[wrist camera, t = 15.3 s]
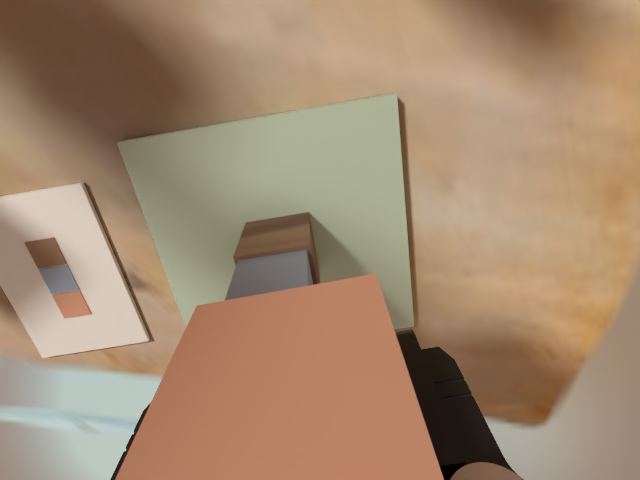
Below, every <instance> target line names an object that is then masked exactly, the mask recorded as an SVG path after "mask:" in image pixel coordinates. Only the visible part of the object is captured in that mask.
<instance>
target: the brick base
mask: <svg viewBox="0 0 640 480" xmlns="http://www.w3.org/2000/svg"><path fill="white" fill-rule="evenodd" d="M302 250H307V253H308V259H309V264H310V270H311V275H312V280H313V285H315V284H320V273H319V265H318V259H317V254H316V248H315V243H314V238H313V232H312V227H311V221H310V216H309V212H306V213H300V214H294V215H288V216H282V217H276V218H270V219H264V220H258V221H252V222H246V223H245V226H244V229H243V231H242V234H241V237H240V240H239V242H238V245H237V248H236V251H235V253H234V256H233V259H234V262H235V266H236V264H237V261H238V260H244V259H250V258H257V257H263V256H270V255H276V254H283V253H289V252H296V251H302Z"/></svg>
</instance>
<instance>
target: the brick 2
mask: <svg viewBox="0 0 640 480" xmlns="http://www.w3.org/2000/svg"><path fill="white" fill-rule="evenodd" d="M115 480H444V478H443V475H442V472H441V469H440V466H439V463H438V460H437V457H436V454H435V451H434V448H433V445H432V442H431V439H430V436H429V433H428V430H427V427H426V424H425V421H424V418H423V415H422V412H421V409H420V406H419V403H418V400H417V397H416V394H415V391H414V388H413V385H412V382H411V379H410V376H409V373H408V370H407V367H406V363H405V360H404V357H403V354H402V351H401V348H400V345H399V342H398V339H397V336H396V333H395V330H394V327H393V324H392V321H391V318H390V315H389V312H388V309H387V306H386V303H385V300H384V297H383V294H382V291H381V288H380V285H379V282H378V279H377V276H376V274H371V275H365V276H360V277H354V278H348V279H343V280H337V281H331V282H326V283H320V284H315V285H309V286H303V287H298V288H292V289H287V290H281V291H275V292H270V293H264V294H258V295H253V296H247V297H242V298H236V299H230V300H225V301H219V302H214V303H208V304H202V305H197V306H196V308H195V310H194V312H193V314H192V316H191V319H190V321H189V323H188V325H187V327H186V329H185V331H184V333H183V336H182V338H181V340H180V342H179V344H178V346H177V348H176V351H175V353H174V355H173V357H172V359H171V361H170V363H169V365H168V368H167V370H166V372H165V374H164V376H163V378H162V380H161V383H160V385H159V387H158V389H157V391H156V393H155V396H154V398H153V400H152V402H151V404H150V406H149V408H148V410H147V412H146V415H145V417H144V419H143V421H142V423H141V425H140V427H139V430H138V432H137V434H136V436H135V438H134V440H133V442H132V444H131V447H130V449H129V451H128V453H127V455H126V457H125V459H124V462H123V464H122V466H121V468H120V470H119V472H118V474H117V476H116V479H115Z"/></svg>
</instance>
